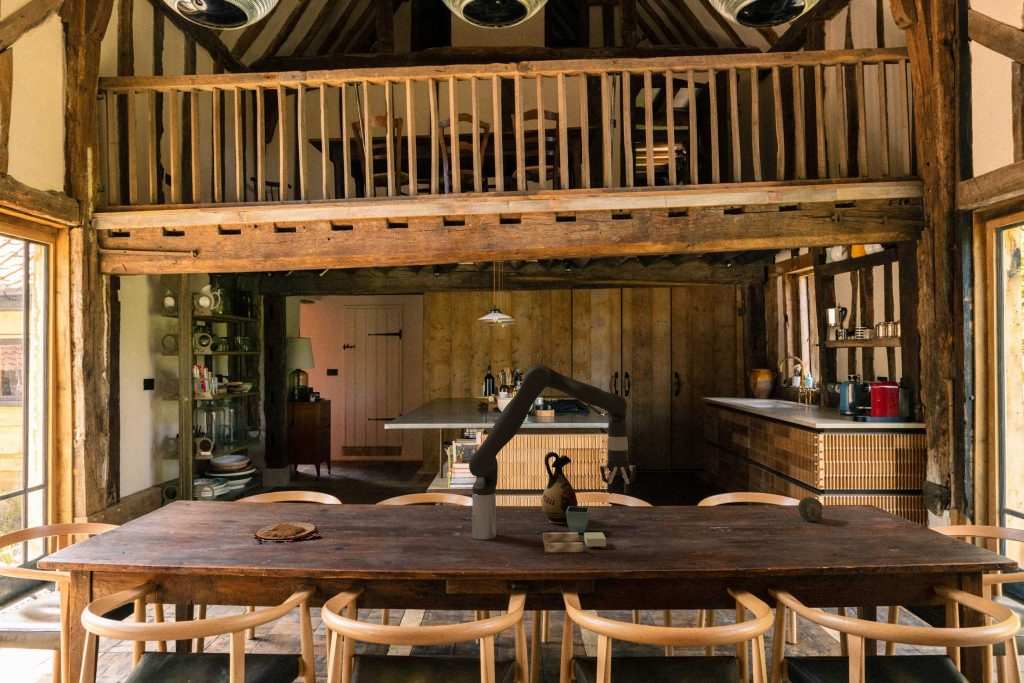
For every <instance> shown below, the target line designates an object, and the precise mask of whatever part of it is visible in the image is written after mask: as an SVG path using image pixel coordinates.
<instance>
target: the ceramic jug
mask: <svg viewBox="0 0 1024 683" xmlns="http://www.w3.org/2000/svg"><path fill="white" fill-rule="evenodd" d="M550 458H555V459H554V461H553V462H552V464H551V466H550ZM570 463H572V459H570V457H568V455H564V454H562V455H561V456H560V455H559V454H558V453H557V452H553V451H549V452H547V453H546V454H545V456H544V466H545V469H546V472H547V474H548V483H547V484H546V486H545V488H544V491H543V492H542V493H543V494H542V496H541V510H542V512H543V513H544V515H545V516H546V517H547V519H548V522H549V523H550V524H558V525H568V523H567V515H566V511H567V509H568V507H578V498H577V494H576V491H575V489H574V487H573V486H572V484H571V483H570V481H569V479H568V478H567V477H566V475H565V473H564V470H563V468H564V467H565V466H566V465H568V464H570ZM551 468H554V472H552V469H551Z"/></svg>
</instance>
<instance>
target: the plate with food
mask: <svg viewBox="0 0 1024 683" xmlns="http://www.w3.org/2000/svg"><path fill="white" fill-rule="evenodd" d="M305 521H306V522H305ZM305 521H291V522H289V521H288V522H284V523H283V522H280V523H274V524H270V525H268V526H265V527H263V528H259V529H260V530H258V529H257V530H256V531H255V532H256V533H255V535H254V534H253V536H256V537H257V538H256V541H258V540H259V541H260V539H264V540H294V539H298V538H299V539H301V540H304V539H306V538H308V537H310V536H313V535H312V534H314V533H316V534H317V533H318V534H319V535H320V537H319V536H315V537H314V538H313V539H316V538H321V537H322V536H323V535H322V534H321V533H320V532H319V529H318V528H317V525H316V524H315V523H308V522H309V521H310V522H311V520H309V519H308V522H307V520H305ZM304 522H305V523H304ZM268 530H272V532H269V531H268ZM266 531H268V532H266ZM264 532H266V533H264ZM263 533H264V534H263ZM299 533H300V535H297V534H299ZM273 537H278V538H273ZM280 537H281V538H280ZM286 537H287V538H286Z"/></svg>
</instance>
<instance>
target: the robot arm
mask: <svg viewBox="0 0 1024 683" xmlns="http://www.w3.org/2000/svg"><path fill="white" fill-rule="evenodd" d="M546 388H549V389H553V390H557V391H559V392H562V393H564V394H565V395H567V396H569V397H570V398H573V399H575V400H577V401H579V402H582V403H585V404H587V405H590V406H592V407H593V406H594V407H597V408H599V409H602V410H604V411H607V417H608V425H607V432H608V433H607V436H608V437H607V446H606V447H607V463H606V465H600V466H599V470H600V474H601V475H600V476H601V478H602V481H603V483H605V484H607V492H608V494H610V495H613V480H614V478H615V476H616V477H617V476H621V477H622V478H623V480H624V483H623V484H624V485H623V487H624V488H623V489H624V490H623V491H624V494H625V495H628V493H629V491H630V484H631V483H634V482H635V477H636V474H637V466H636V465H634V464H633V465H631V464H630V463H629V443H628V441H629V440H628V424H627V420H626V417H627V415H626V414H627V411H626V410H627V408H628V403H627V400H626V399H625V397H623V396H622V395H620V394H615V393H612V392H608V391H605V390H603V389H601V388H600V387H596V386H594V385H591V384H588V383H585V382H582V381H579V380H576V379H574V378H571V377H569V376H567V375H564V374H562V373H560V372H558V371H556V370H554V369H552V368H550V367H548V366H546V365H545V364H542V363H536V364H534V365H532V366H531V367H530V368H529V369H528V370H527V372H526V374H525V376H524V379H523V380H522V383H521V385H520V387H519V389H518V390H517V391H516V394H515V395H514V396H513V397H512V399H511V400H510V401H509V402H508V403H507V404H506V406H505V407H504V409H503V410H502V411H501V413H500V415H499V416H498V417H497V419H496V421H495V422H494V424H493V426H492V427H491V429H490V431H489V432H488V434H487V436H486V438H485V440H484V441H483V442H482V444H481V445H480V446H479V447H478V449H477V450H476V451H475V452H474V453H473V455H471V457H470V460H469V462H468V469H469V472H470V473H471V475H472V476H473V477H476V478H475V482H474V483H473V485H472V488H471V489H472V490H471V491H472V494H471V495H472V500H471V501H472V510H471V511H472V514H471V536H472V537H471V539H475V540H491V539H494V538H496V536H497V529H496V528H497V526H496V525H497V521H496V519H497V518H496V517H497V516H496V514H497V513H496V511H497V510H496V509H497V508H496V506H497V505H496V502H497V501H496V499H497V498H496V494H497V493H496V491H497V486H498V478H499V476H498V472H499V469H498V468H499V463H498V459H497V455H498V454H499V452H501V450H502V449H503V448H504V447H505V446H506V445H507V444H509V442H511V440H513V438H514V437H515V436H516V435H517V433H518V432H519V430H520V429H521V428H522V425H523V424H524V422H525V420H526V418H527V417H528V414H529V412H530V410H531V408H532V406H533V404H534V402H535V401H536V400H537V399H538V397H539V396H540V395H541V393H542V392H543V391H544V390H545V389H546ZM607 470H608V471H609V475H608V478H607V477H606V473H605V472H606V471H607ZM628 470H629V471H630V476H629V478H628V475H627V471H628Z"/></svg>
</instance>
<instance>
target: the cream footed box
mask: <svg viewBox="0 0 1024 683" xmlns="http://www.w3.org/2000/svg"><path fill="white" fill-rule="evenodd" d="M583 536H584V537H583V539H584V540H583V541H584V542H585V544H586V547H587V548H588V549H589V550H591V549H593V548H594V547H600V548H601V549H602V550H604V549H605V548H606V547H607V538H606V536H605V534H604V533H603V532H584V533H583Z"/></svg>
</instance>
